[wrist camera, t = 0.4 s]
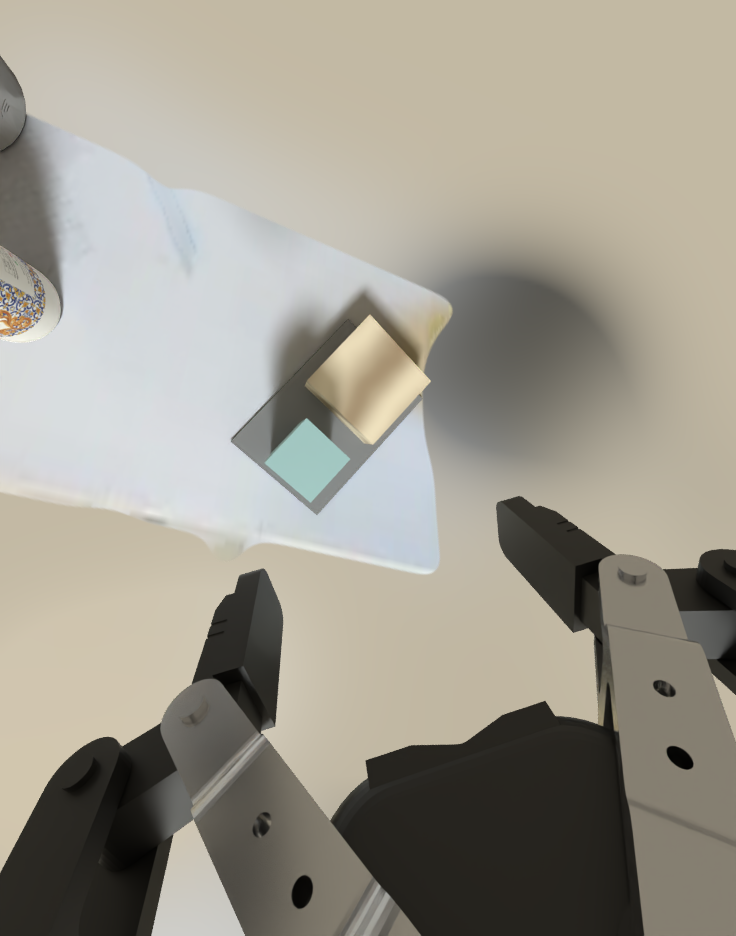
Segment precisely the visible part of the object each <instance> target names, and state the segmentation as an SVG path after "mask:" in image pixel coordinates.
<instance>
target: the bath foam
mask: <svg viewBox="0 0 736 936" xmlns="http://www.w3.org/2000/svg"><path fill="white" fill-rule="evenodd" d="M60 314H61V307H60V300H59V296H58V293H57V291H56V289H55V288H54V286H53V285H52V283H51V282H50V281H49V280H48V279H47V278H46V277H45V276H44V275H43V274H42V273H41V272H39V271H38V270H37V269H35V268H34V267H32V266H31V265H29V264H28V263H26V262H25V261H23V260H22V259H20V258H19V257H17V256H16V255H14V254H13V253H11V252H10V251H8V250H7V249H5V248H4V247H2V246H1V245H0V339H2V340H5V341H10V342H17V343H25V342H32V341H36V340H39V339H41V338H43V337H45V336H47V335H48V334H49V333H50V332H52V330H53V329H54V328H55V327H56V325H57V323H58V321H59V319H60Z"/></svg>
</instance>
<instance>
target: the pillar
mask: <svg viewBox="0 0 736 936" xmlns="http://www.w3.org/2000/svg"><path fill="white" fill-rule="evenodd" d="M349 460H350V458H349V457H348V456H347V455H346V454H344V453H343V452H342V451H341V450H340V449H339V448H338V447H337V446H336V445H335V444H334V443H333V442H332V441H331V440H330V439H328V438H327V437H326V436H325V435H324V434H323V433H322V432H321V431H320V430H319V429H318V428H317V427H316V426H315V425H314V424H312V423H311V422H310V421H309V420H308V419H307V418H306V419H305V420H303V421H301V422H300V423H299V424H298V425H297V426H296V427H295V428H294V429H293V430H292V431H291V432H290V433H289V435H288V436H287V437H286V438H285V439H284V440H283V441H282V442H281V443H280V444H279V445H278V446H277V447H276V448H275V449H274V450H273V451H272V453H271V454H270V455H269V457H268V458H267V460H266V461H265V464H266V465H267V466H268V467H270V468H271V469H272V470H273V471H274V472H275V473H277V474H278V475H279V476H280V477H281V478H282V479H284V480H285V481H286V482H287V483H288V484H289V485H291V486H292V487H293V488H294V489H295V490H296V491H297V492H299V493H300V494H301V495H302V496H303V497H304V498H306V499H307V500H308V501H309V502H310V503H311V502H312V501H313V500H314V498H315V497H316V496H317V495H318V494H319V493H320V492H321V491H322V490H323V489H324V488H325V486H326V485H327V484H328V483H329V482H330V481H331V480H332V479H333V478H334V477H335V476H336V474H337V473H338V472H339V471H340V470H341V469H342V468H343V467H344V466H345V465H346V463H347V462H348V461H349Z"/></svg>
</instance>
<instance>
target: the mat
mask: <svg viewBox="0 0 736 936" xmlns="http://www.w3.org/2000/svg"><path fill="white" fill-rule="evenodd" d="M355 330H356V327H355V326H354V325H353V324H352V323H351V322H350V321H349V320H347V321H346V322H345V323H344V324H343V325H342V326H341V327H340V328H339V329H338V330H337V331H336V332H335V333H334V334H333V335H332V336H331V338H330V339H329V340H328V341H327V342H326V343H325V344H324V345H323V346H322V347H321V348H320V349H319V350H318V351H317V352H316V353H315V354H314V355H313V356H312V357H311V358H310V359H309V360H308V361H307V363H306V364H305V365H304V366H303V367H302V368H301V369H300V370H299V371H298V372H297V373H296V374H295V375H294V376H293V377H292V378H291V379H290V380H289V381H288V382H287V383H286V384H285V385H284V386H283V388H282V389H281V390H280V391H279V392H278V393H277V394H276V395H275V396H274V397H273V398H272V399H271V400H270V401H269V402H268V403H267V404H266V405H265V406H264V407H263V408H262V409H261V410H260V411H259V413H258V414H257V415H256V416H255V417H254V418H253V419H252V420H251V421H250V422H249V423H248V424H247V425H246V426H245V427H244V428H243V429H242V430H241V431H240V432H239V433H238V434H237V435H236V436H235V438H234V439H233V440H232V441H231V442H232V443H233V444H234V445H236V446H237V447H238V448H239V449H240V450H241V451H243V452H244V453H245V454H246V455H247V456H248V457H250V458H251V459H252V460H253V461H254V462H255V463H257V464H258V465H259V466H260V467H261V468H262V469H264V470H265V471H266V472H267V473H268V474H269V475H271V476H272V477H273V478H274V479H275V480H277V481H278V482H279V483H280V484H281V485H282V486H284V487H285V488H286V489H287V490H288V491H289V492H291V493H292V494H293V495H294V496H295V497H296V498H298V499H299V500H300V501H301V502H302V503H303V504H305V505H306V506H307V507H308V508H309V509H310V510H312V511H313V512H314V513H315V514H316V515H317V514H318V513H319V512H320V511H321V510H322V509H323V508H324V507H325V506H326V505H327V503H328V502H329V501H330V500H331V499H332V498H333V497H334V496H335V495H336V493H337V492H338V491H339V490H340V489H341V488H342V487H343V486H344V485H345V484H346V482H347V481H348V480H349V479H350V478H351V477H352V476H353V475H354V474H355V473H356V471H357V470H358V469H359V468H360V467H361V466H362V465H363V464H364V463H365V462H366V460H367V459H368V458H369V457H370V456H371V455H372V454H373V453H374V452H375V451H376V449H377V448H378V447H379V446H380V445H381V444H382V443H383V442H384V441H385V439H386V438H387V437H388V436H389V435H390V434H391V433H392V432H393V431H394V430H395V428H396V427H397V426H398V425H399V424H400V423H401V422H402V421H403V420H404V419H405V417H406V416H407V415H408V414H409V413H410V412H411V411H412V410H413V409H414V408H415V406H416V405H417V404H418V403H419V402H420V401H421V400H422V398H421V397H420V395H418V396H417V397H416V398H415V399H414V400H413V401H412V403H411V404H410V405H409V406H408V407H407V408H406V409H405V410H404V411H403V412H402V414H401V415H400V416H399V417H398V418H397V419H396V420H395V421H394V422H393V423H392V425H391V426H390V427H389V428H388V429H387V430H386V431H385V432H384V433H383V434H382V436H381V437H380V438H379V439H378V440H377V441H376V442H375V443H374V444H373V445H372V444H364V443H363V442H362V441H361V440H360V439H359V438H358V437H357V436H356V435H355V434H354V433H353V432H352V431H351V430H350V429H349V428H348V427H347V426H346V425H345V424H344V423H343V422H342V421H341V420H340V419H338V418H337V417H336V416H335V415H334V414H333V413H332V412H331V411H330V410H329V409H328V408H327V407H326V406H325V405H324V404H323V403H322V402H321V401H320V400H319V399H318V398H317V397H316V396H315V395H314V394H313V393H312V392H310V391H309V390H308V389H307V388H306V387H305V384H306V382H307V380H308V379H309V378H310V377H311V376H312V375H313V374H314V373H315V371H316V370H317V369H318V368H319V367H320V366H321V365H322V364H323V363H324V362H325V361H326V360H327V359H328V358H329V357H330V356H331V355H332V354H333V353H334V352H335V350H336V349H337V348H338V347H339V346H340V345H341V344H342V343H343V342H344V341H345V340H346V339H347V338H348V337H349V336H350V335H351V334H352V333H353V332H354V331H355ZM306 418H307V419H308V420H309V421H310V422H311V423H312V424H314V425H315V426H316V427H317V428H318V429H319V430H320V431H321V432H322V433H323V434H324V435H325V436H326V437H327V438H328V439H330V440H331V441H332V442H333V443H334V444H335V445H336V446H337V447H338V448H339V449H340V450H341V451H342V452H343V453H344V454H346V455H347V456H348V457H349V458H350V460H349V461H348V462H347V463H346V465H345V466H344V467H343V468H342V469H341V470H340V471H339V472H338V473H337V474H336V476H335V477H334V478H333V479H332V480H331V481H330V482H329V483H328V484H327V485H326V486H325V488H324V489H323V490H322V491H321V492H320V493H319V494H318V495H317V496H316V497H315V498H314V500H313V501H312V502H311V503H310V502H309V501H308V500H307V499H306V498H304V497H303V496H302V495H301V494H300V493H299V492H297V491H296V490H295V489H294V488H293V487H292V486H291V485H289V484H288V483H287V482H286V481H285V480H284V479H282V478H281V477H280V476H279V475H278V474H277V473H275V472H274V471H273V470H272V469H271V468H270V467H268V466H267V465H266V464H265V461H266V460H267V458H268V457H269V455H270V454H271V453H272V451H273V450H274V449H275V448H276V447H277V446H278V445H279V444H280V443H281V442H282V441H283V440H284V439H285V438H286V437H287V436H288V435H289V433H290V432H291V431H292V430H293V429H294V428H295V427H296V426H297V425H298V424H299V423H300V422H301V421H303V420H305V419H306Z"/></svg>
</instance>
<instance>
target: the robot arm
mask: <svg viewBox="0 0 736 936" xmlns="http://www.w3.org/2000/svg"><path fill="white" fill-rule="evenodd" d="M25 116H26V108H25V99H24V96H23V92H22V89H21V87H20V85H19V83H18V81H17V79H16V77H15V75H14V74H13V72H12V71H11V70H10V69H9V67H8V66H7V64H6V63H5V62H4V60H3V59H2V58H1V56H0V151H2V150H3V149H5V148H6V147H8V146H9V145H11V144H12V143H13V142H14V141H15V140H16V138H17V137H18V136H19V135H20V133H21V130H22V128H23V126H24V122H25ZM496 510H497V522H498V535H499V543H500V546H501V549H502V551H503V553H504V554H505V556H506V557H507V559H508V560H509V561H510V562H511V563H512V564H513V565H514V567H515V568H516V569H517V570H518V571H519V572H520V573H521V574H522V576H523V577H524V578H525V579H526V580H527V581H528V582H529V583H530V585H531V586H532V587H533V588H534V589H535V590H536V591H537V592H538V593H539V595H540V596H541V597H542V598H543V599H544V600H545V601H546V603H547V604H548V605H549V606H550V607H551V608H552V609H553V610H554V612H555V613H556V614H557V615H558V616H559V617H560V618H561V619H562V621H563V622H564V623H565V624H566V625H567V626H568V627H569V629H570V630H571V631H572V632H573V633H574V632H577V631H581V630H584V629H586V628H589V629H590V630H591V632H592V633H594V653H595V668H596V683H597V700H598V724H595V723H592V722H589V721H586V720H582V719H577V718H571V717H562V716H555V715H554V714H553V712H552V711H551V709H550V708H549V706H548V704H547V703H546V701H544V702H540V703H538V704H534V705H532V706H529V707H526V708H523V709H519V710H516V711H513V712H510V713H507V714H505V715H502V716H501V717H499V718H498V719H497V720H495V721H494V722H492V723H491V724H490V725H488V726H487V727H486V728H484V729H483V730H482V731H480V732H479V733H477V734H476V735H475V736H473V737H472V738H471V739H469V740H468V741H466V742H465V743H463V744H456V745H411V746H408V747H405V748H402V749H399V750H396V751H393V752H390V753H387V754H384V755H381V756H378V757H375V758H372V759H369V760H366V767H367V773H368V779H366V780H365V781H363V782H362V783H361V784H360V785H358V786H357V787H356V788H355V789H354V790H353V791H352V792H351V793H350V794H349V795H348V797H347V798H346V799H345V800H344V801H343V803H342V804H341V805H340V806H339V808H338V810H337V811H336V813H335V814H334V815H333V817H332V819H331V820H329V819H328V818H327V816H326V815H325V814H324V812H323V811H322V810H321V809H320V807H319V806H318V805H317V803H316V802H315V801H314V799H313V798H312V797H311V796H310V794H309V793H308V792H307V790H306V789H305V788H304V786H303V785H302V784H301V783H300V781H299V780H298V779H297V777H296V776H295V775H294V773H293V772H292V771H291V769H290V768H289V767H288V766H287V764H286V763H285V762H284V761H283V759H282V758H281V756H280V755H279V754H278V753H277V751H276V750H275V749H274V747H273V746H272V745H271V743H270V742H269V741H268V740H267V738H266V737H265V736H264V735H263V734H261V731H262V730H266V729H269V728H272V727H275V722H276V709H277V696H278V682H279V670H280V657H281V644H282V631H283V615H282V609H281V605H280V603H279V600H278V598H277V595H276V593H275V591H274V588H273V586H272V584H271V581H270V579H269V576H268V574H267V572H266V571H265V569H260V570H256V571H252V572H249V573H245V574H242V575H240V576H239V578H238V582H237V585H236V589H235V593H233V594H230V595H226V596H225V598H224V599H223V600H222V602H221V603H220V605H219V606H218V607H217V609H216V610H215V613H214V616H213V620H212V623H211V627H210V629H209V632H208V636H207V637H208V639H206V641H205V645H204V648H203V651H202V654H201V657H200V660H199V663H198V666H197V669H196V672H195V675H194V679H193V682H192V685H190V686H189V687H187V688H186V689H185V690H183V691H182V692H181V693H180V694H179V695H178V696H177V697H176V698H175V699H174V700H173V701H172V703H171V704H170V705H169V707H168V708H167V710H166V712H165V714H164V716H163V719H162V722H161V723H160V724H159V725H157V726H156V727H154V728H152V729H151V730H149V731H147V732H146V733H144V734H142V735H141V736H139V737H137V738H136V739H134V740H132V741H131V742H129V743H127V744H126V745H124V746H121V745H120V744H119V743H118V741H117V740H116V739H114V738H112V737H103V738H99V739H96V740H94V741H92V742H90V743H88V744H87V745H85V746H83V747H82V748H80V749H79V750H78V751H77V752H75V753H74V754H73V755H72V756H71V757H69V758H68V759H67V760H66V761H65V762H64V763H63V764H62V765H61V766H60V768H59V769H58V770H57V771H56V772H55V774H54V775H53V776H52V778H51V779H50V781H49V782H48V784H47V786H46V787H45V789H44V791H43V793H42V795H41V797H40V798H39V800H38V802H37V805H36V806H35V808H34V810H33V812H32V814H31V816H30V818H29V820H28V821H27V823H26V825H25V827H24V829H23V831H22V833H21V835H20V836H19V839H18V840H17V842H16V844H15V846H14V848H13V850H12V852H11V854H10V855H9V857H8V859H7V861H6V863H5V865H4V867H3V869H2V871H1V873H0V936H151V934H152V929H153V925H154V920H155V915H156V911H157V907H158V902H159V897H160V893H161V888H162V884H163V879H164V875H165V870H166V866H167V861H168V856H169V852H170V847H171V843H172V838H173V834H174V833H175V832H177V831H178V830H180V829H181V828H182V827H184V826H185V825H186V824H188V823H189V822H191V821H192V820H193V819H194V821H195V823H196V826H197V828H198V830H199V833H200V835H201V837H202V839H203V841H204V844H205V846H206V848H207V850H208V853H209V855H210V857H211V860H212V862H213V864H214V866H215V868H216V871H217V873H218V875H219V878H220V880H221V882H222V884H223V886H224V888H225V891H226V893H227V895H228V898H229V900H230V902H231V905H232V907H233V909H234V911H235V914H236V916H237V918H238V920H239V922H240V925H241V927H242V929H243V932H244V934H245V936H736V742H735V738H734V736H733V733H732V730H731V727H730V724H729V721H728V719H727V716H726V713H725V710H724V707H723V704H722V702H721V699H720V696H719V693H718V690H717V687H716V684H715V682H714V679H713V676H712V674H713V675H714V676H715V677H716V678H718V679H719V680H720V681H721V682H722V683H723V684H724V685H725V686H727V687H728V688H729V689H730V690H731V691H732V692H733V693H734V694H735V695H736V550H728V549H718V550H711V551H708V552H705V553H704V554H702V555H701V557H700V560H699V565H698V568H687V569H662V568H661V567H659V566H658V565H657V564H655V563H653V562H651V561H649V560H647V559H644V558H641V557H637V556H633V555H624V554H623V555H622V554H620V555H616V554H614V553H613V552H612V551H610V550H609V549H607V548H606V547H605V546H603V545H602V544H600V543H599V542H598V541H596V540H595V539H593V538H592V537H591V536H589V535H588V534H586V533H585V532H584V531H582V530H581V529H578V527H577V526H575V525H574V524H573V523H571V522H568V520H567V519H565V518H564V517H563V516H562V515H560V514H559V513H557V512H556V511H553V510H550V509H548V508H545V507H542V506H538V507H534V506H533V505H532V504H531V503H529V502H528V501H527V500H525V499H524V498H523V497H520V496H518V497H514V498H511V499H507V500H504V501H500V502H498V503H497V507H496Z"/></svg>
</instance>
